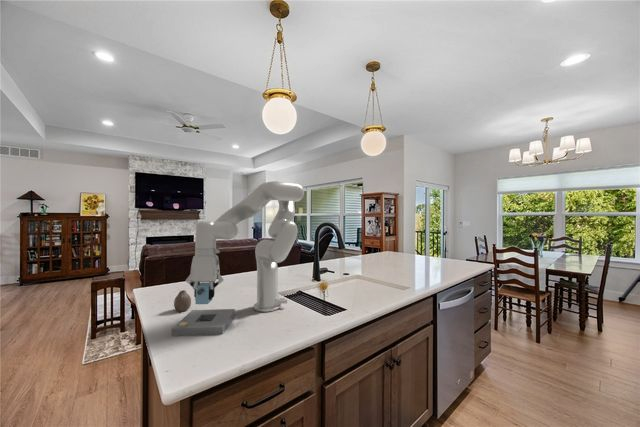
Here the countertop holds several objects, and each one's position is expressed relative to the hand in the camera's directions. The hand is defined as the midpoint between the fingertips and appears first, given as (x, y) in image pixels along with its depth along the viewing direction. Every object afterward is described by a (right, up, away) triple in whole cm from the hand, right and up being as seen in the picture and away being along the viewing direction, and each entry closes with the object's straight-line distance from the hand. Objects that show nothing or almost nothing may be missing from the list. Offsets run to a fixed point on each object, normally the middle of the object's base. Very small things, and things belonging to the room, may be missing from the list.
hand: (204, 298), depth 103 cm
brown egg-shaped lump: (-17, -11, +15) cm, 25 cm away
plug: (0, -1, -1) cm, 2 cm away
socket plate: (+1, -10, +1) cm, 10 cm away
